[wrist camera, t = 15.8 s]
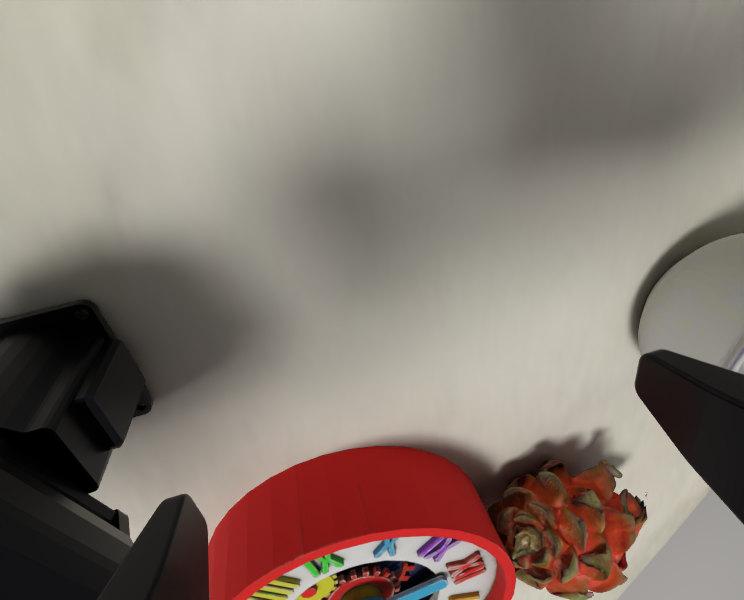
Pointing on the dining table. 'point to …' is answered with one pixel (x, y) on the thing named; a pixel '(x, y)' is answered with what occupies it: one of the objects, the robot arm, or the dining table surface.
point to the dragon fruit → (568, 529)
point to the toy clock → (361, 533)
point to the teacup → (700, 306)
